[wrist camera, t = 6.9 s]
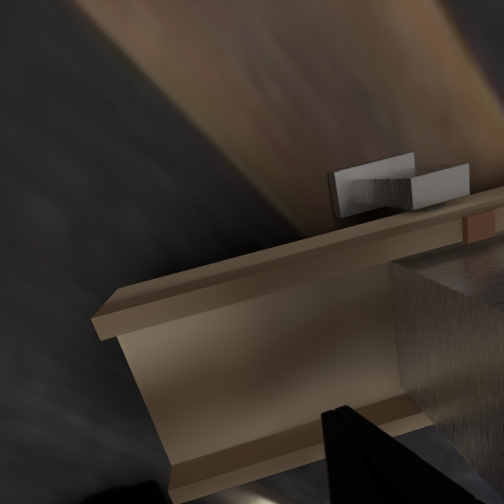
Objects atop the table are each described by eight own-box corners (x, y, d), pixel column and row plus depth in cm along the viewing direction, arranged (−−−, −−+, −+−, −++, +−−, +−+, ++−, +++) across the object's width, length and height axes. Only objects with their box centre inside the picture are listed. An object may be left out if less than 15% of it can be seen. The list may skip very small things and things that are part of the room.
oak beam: (639, 296, 16) (755, 328, 12) (183, 433, 14) (173, 512, 11) (664, 137, 13) (816, 123, 10) (124, 280, 12) (87, 320, 8)
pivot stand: (419, 347, 19) (492, 405, 14) (358, 367, 18) (411, 433, 13) (403, 153, 15) (492, 140, 10) (327, 172, 15) (384, 168, 10)
